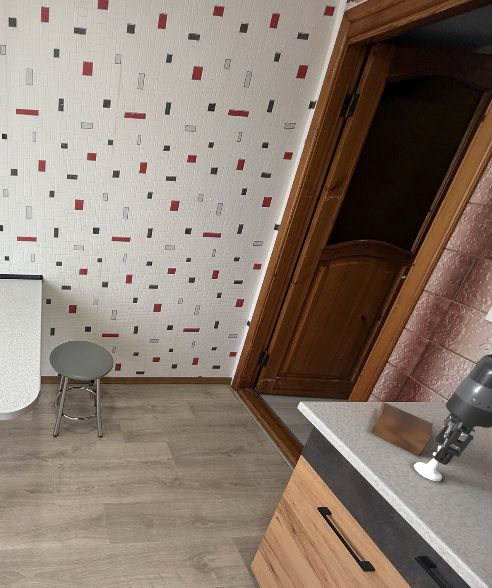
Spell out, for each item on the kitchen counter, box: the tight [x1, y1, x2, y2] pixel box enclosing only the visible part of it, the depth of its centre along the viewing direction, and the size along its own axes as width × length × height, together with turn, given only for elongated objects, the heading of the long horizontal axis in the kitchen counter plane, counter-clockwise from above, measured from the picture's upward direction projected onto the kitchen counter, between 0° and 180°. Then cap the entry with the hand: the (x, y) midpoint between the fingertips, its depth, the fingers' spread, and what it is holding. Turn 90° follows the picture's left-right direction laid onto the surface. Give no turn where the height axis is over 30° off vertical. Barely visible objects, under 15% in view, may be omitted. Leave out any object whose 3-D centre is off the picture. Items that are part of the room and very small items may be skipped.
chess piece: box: [413, 445, 443, 482], centre depth 80 cm, size 5×5×10 cm
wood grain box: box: [369, 401, 434, 457], centre depth 93 cm, size 10×14×7 cm
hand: (440, 452), depth 79 cm, fingers open, 8 cm apart
